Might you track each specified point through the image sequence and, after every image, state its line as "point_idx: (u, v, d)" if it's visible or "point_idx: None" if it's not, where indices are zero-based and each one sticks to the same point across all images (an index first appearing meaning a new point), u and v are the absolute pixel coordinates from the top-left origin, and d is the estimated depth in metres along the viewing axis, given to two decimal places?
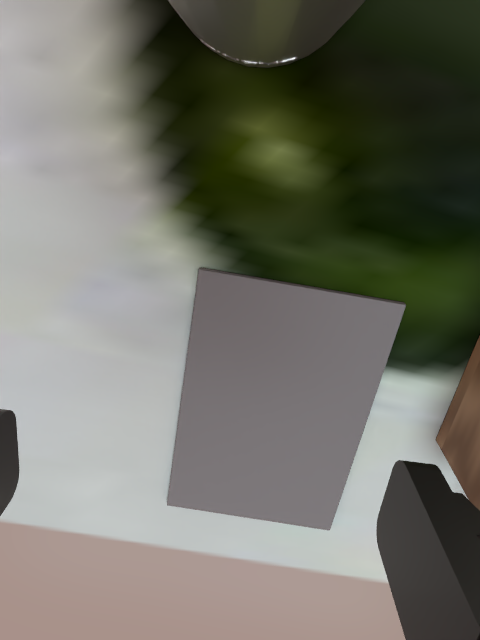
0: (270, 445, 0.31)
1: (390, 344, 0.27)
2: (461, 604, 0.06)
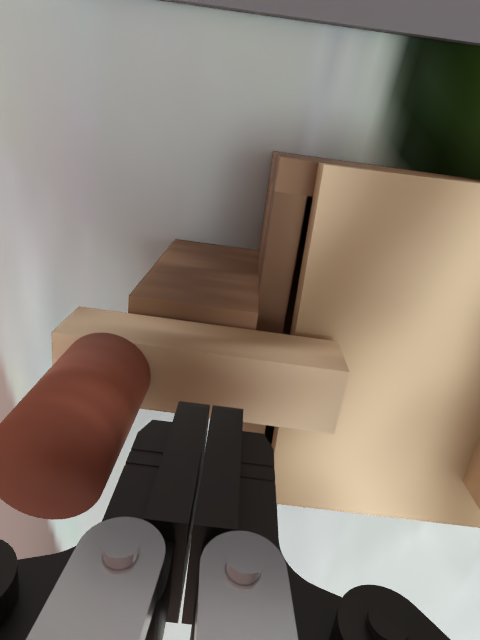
0: None
1: (455, 36, 0.18)
2: (195, 509, 0.07)
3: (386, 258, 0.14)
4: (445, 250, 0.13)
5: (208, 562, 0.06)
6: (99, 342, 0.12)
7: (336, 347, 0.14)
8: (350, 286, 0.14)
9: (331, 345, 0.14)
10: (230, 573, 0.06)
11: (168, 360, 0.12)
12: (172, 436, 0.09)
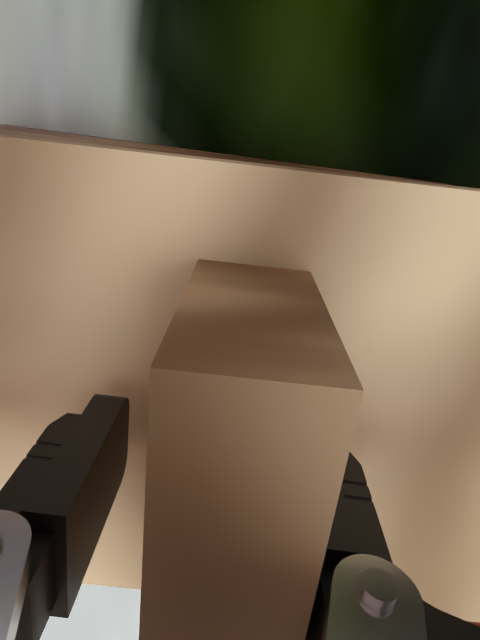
0: None
1: None
2: None
3: None
4: (62, 241, 0.10)
5: (340, 577, 0.06)
6: None
7: None
8: None
9: None
10: (368, 600, 0.06)
11: None
12: (76, 428, 0.09)
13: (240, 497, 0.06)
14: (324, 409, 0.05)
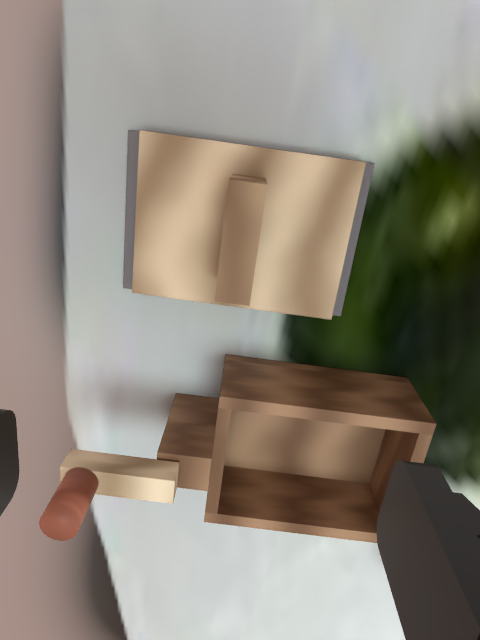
0: None
1: None
2: (461, 604, 0.06)
3: (169, 170, 0.33)
4: (192, 167, 0.33)
5: None
6: (77, 473, 0.31)
7: (176, 466, 0.33)
8: (156, 182, 0.33)
9: (174, 465, 0.33)
10: None
11: (105, 477, 0.32)
12: None
13: (244, 209, 0.29)
14: (260, 188, 0.28)
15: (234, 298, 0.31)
